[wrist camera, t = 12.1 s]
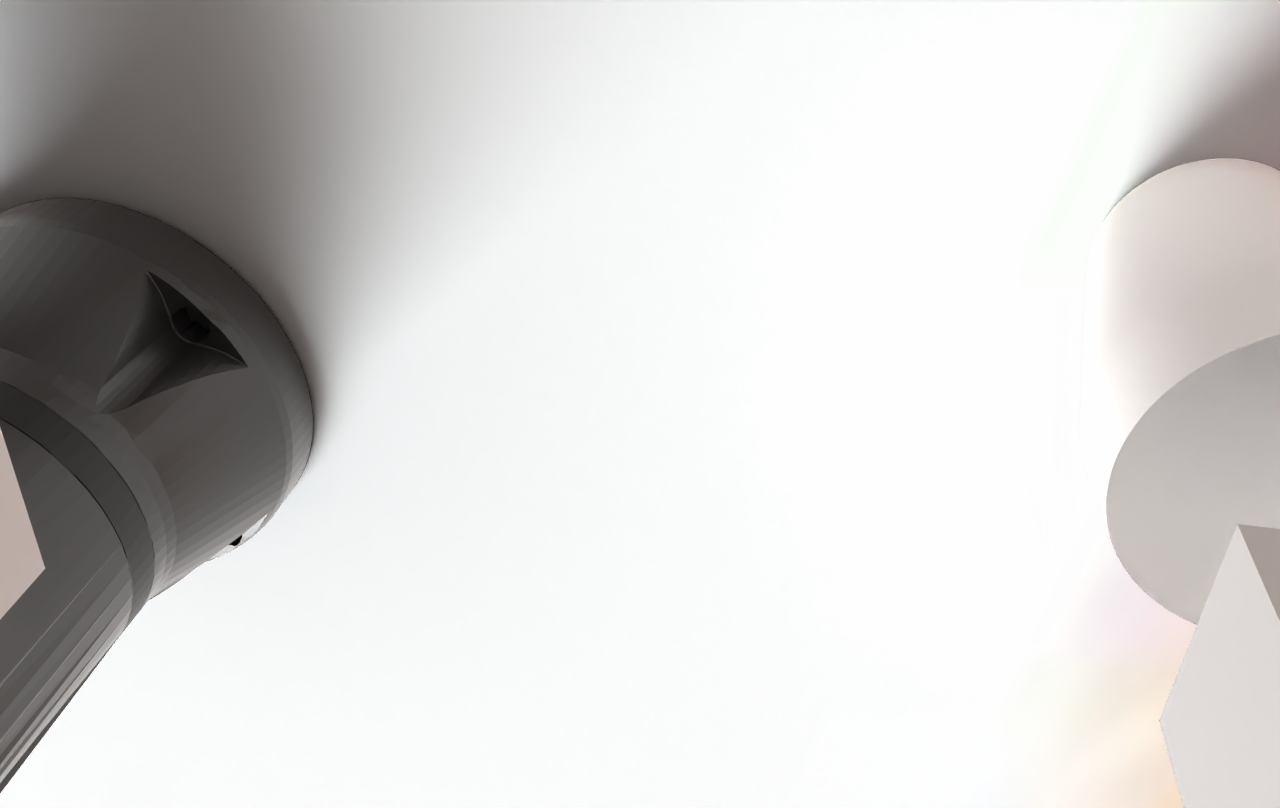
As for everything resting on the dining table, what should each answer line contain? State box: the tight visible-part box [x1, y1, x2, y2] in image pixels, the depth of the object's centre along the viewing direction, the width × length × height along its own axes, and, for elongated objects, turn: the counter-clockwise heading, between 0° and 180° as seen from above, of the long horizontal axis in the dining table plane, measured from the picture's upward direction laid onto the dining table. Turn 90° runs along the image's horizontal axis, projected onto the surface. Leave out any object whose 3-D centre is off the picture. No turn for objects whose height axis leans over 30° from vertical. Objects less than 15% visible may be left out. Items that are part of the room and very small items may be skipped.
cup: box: [1081, 158, 1280, 625], centre depth 31 cm, size 9×9×12 cm
